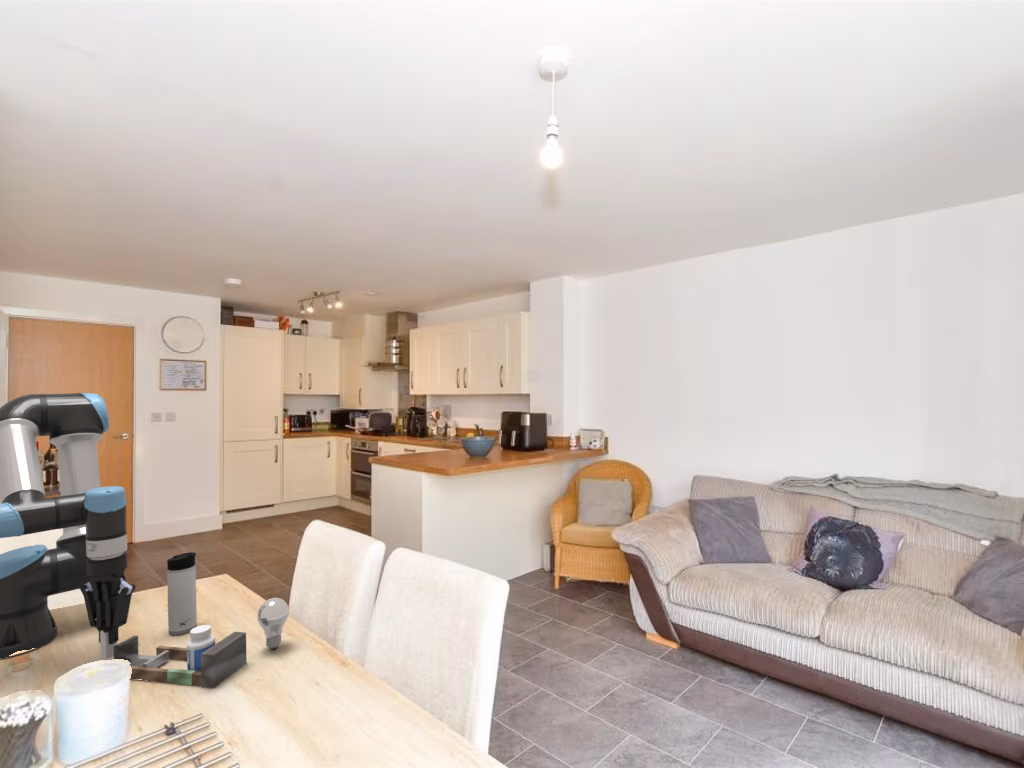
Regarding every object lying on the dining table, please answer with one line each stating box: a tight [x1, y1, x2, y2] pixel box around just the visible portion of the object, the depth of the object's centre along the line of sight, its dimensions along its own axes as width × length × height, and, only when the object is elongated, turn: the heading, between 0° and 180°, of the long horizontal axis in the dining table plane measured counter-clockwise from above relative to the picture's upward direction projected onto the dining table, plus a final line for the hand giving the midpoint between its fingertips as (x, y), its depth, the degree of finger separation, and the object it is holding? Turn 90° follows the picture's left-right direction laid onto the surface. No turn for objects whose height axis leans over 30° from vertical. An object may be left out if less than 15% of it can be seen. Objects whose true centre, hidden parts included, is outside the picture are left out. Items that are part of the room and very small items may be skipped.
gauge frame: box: [130, 631, 248, 689], centre depth 116 cm, size 23×10×7 cm, turn 79°
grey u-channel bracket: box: [113, 635, 171, 668], centre depth 118 cm, size 9×6×5 cm, turn 79°
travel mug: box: [166, 551, 198, 637], centre depth 136 cm, size 6×7×20 cm
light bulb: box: [256, 597, 290, 650], centre depth 125 cm, size 7×7×12 cm
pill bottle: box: [186, 624, 216, 672], centre depth 115 cm, size 6×5×10 cm
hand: (109, 656), depth 120 cm, fingers closed
